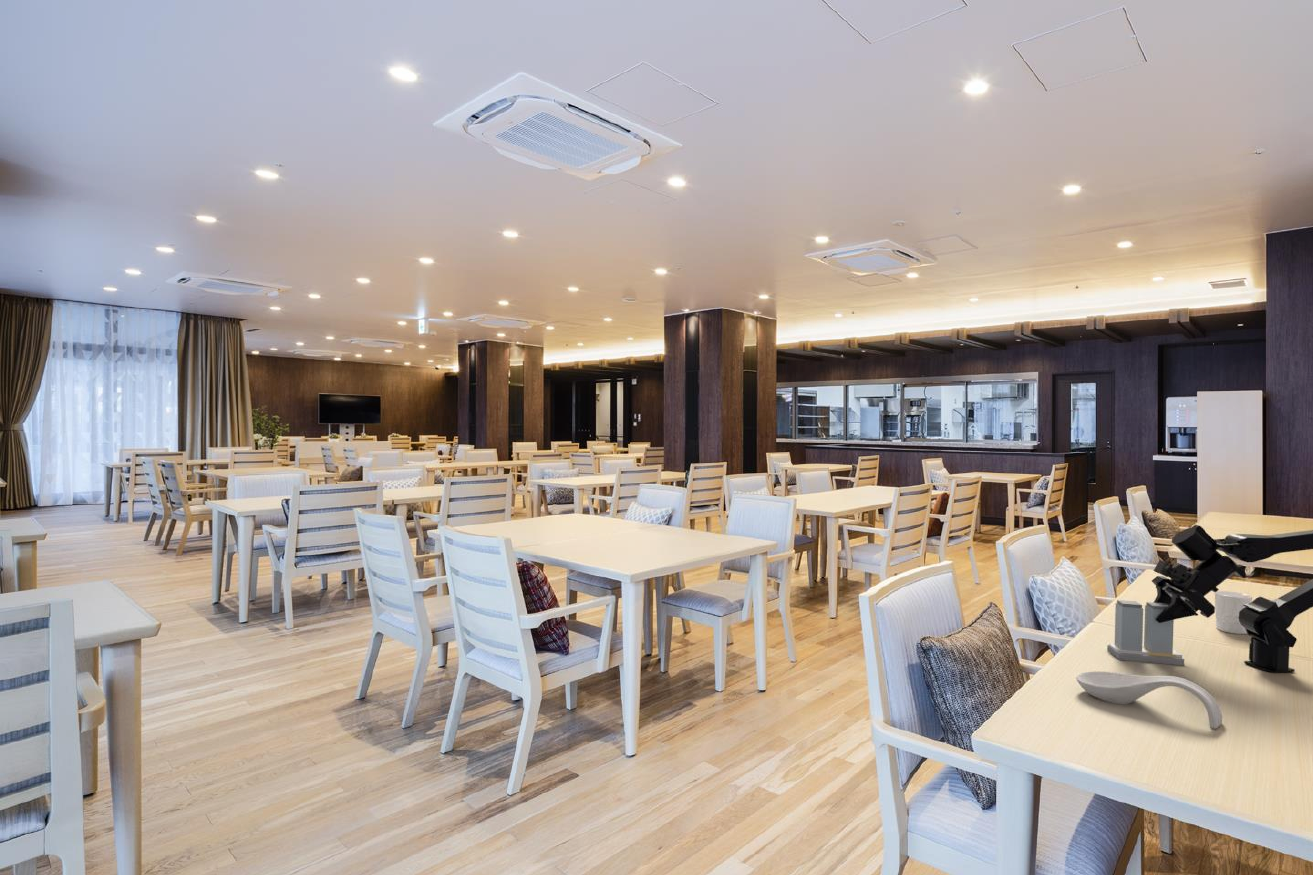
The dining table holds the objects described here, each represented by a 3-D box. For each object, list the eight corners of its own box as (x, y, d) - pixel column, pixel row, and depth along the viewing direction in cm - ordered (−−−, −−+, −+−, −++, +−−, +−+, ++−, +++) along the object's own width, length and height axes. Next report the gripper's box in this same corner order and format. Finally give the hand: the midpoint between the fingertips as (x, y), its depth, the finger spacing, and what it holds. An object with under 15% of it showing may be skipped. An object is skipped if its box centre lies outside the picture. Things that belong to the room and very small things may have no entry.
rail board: (1170, 655, 169) (1170, 647, 169) (1184, 665, 162) (1184, 656, 162) (1107, 650, 172) (1107, 642, 172) (1118, 659, 166) (1118, 651, 166)
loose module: (1164, 648, 168) (1166, 603, 168) (1172, 653, 164) (1173, 607, 164) (1143, 647, 169) (1145, 601, 169) (1151, 652, 165) (1152, 605, 165)
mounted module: (1135, 646, 170) (1136, 601, 169) (1142, 651, 166) (1143, 605, 166) (1114, 644, 171) (1115, 599, 171) (1121, 649, 167) (1122, 603, 167)
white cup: (1258, 635, 188) (1260, 598, 188) (1229, 634, 188) (1230, 597, 188) (1235, 626, 196) (1236, 591, 195) (1206, 626, 196) (1207, 590, 196)
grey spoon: (1067, 696, 143) (1068, 661, 143) (1087, 683, 151) (1088, 650, 150) (1212, 736, 125) (1213, 696, 125) (1227, 719, 133) (1228, 681, 132)
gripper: (1161, 543, 174) (1110, 584, 177) (1200, 556, 156) (1142, 602, 159) (1197, 576, 173) (1145, 617, 176) (1240, 594, 155) (1181, 639, 157)
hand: (1152, 618), depth 167 cm, fingers open, 5 cm apart
